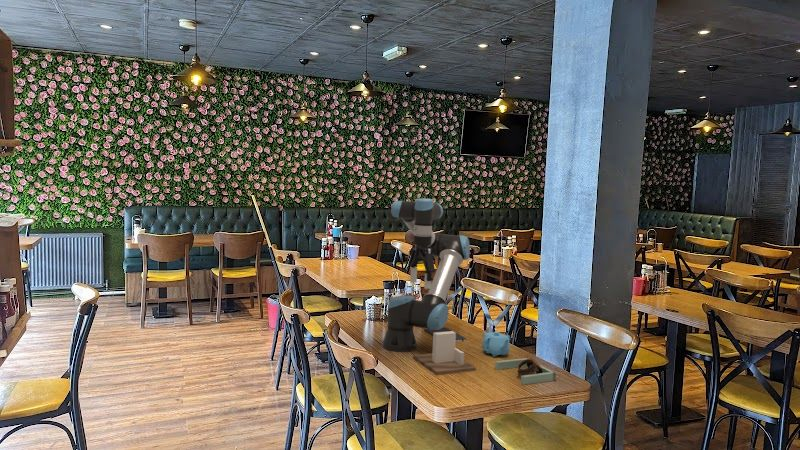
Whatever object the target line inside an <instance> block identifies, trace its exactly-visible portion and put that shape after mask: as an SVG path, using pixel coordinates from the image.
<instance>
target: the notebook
mask: <svg viewBox="0 0 800 450" xmlns="http://www.w3.org/2000/svg"><path fill="white" fill-rule="evenodd" d="M423 329H424V330H423V331H424V332H425V333H427V334H428V335H430V336H431V337H433V333H436V332H449V331H453V332H455V333H456V341H455V343H457V342H458V343H459V342H467V337H465V336H462V335H461V334H459V333H457V332H456V331H454V330H452V329H450V328H448V327H447V326H446V327H445V326H444V327H443V328H442V329H439V330H430V329H427V328H423Z"/></svg>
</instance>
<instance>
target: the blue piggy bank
mask: <svg viewBox="0 0 800 450" xmlns="http://www.w3.org/2000/svg"><path fill="white" fill-rule="evenodd" d="M482 336H483V338H482V346H481V349H482V350H483V351H485V354H486V355H488V354H489V355H490V354H491V356H492V357H493V358H497V357H498V356H503V357H505V356H506V355H507V354H509V353H510V345H511V344H510V341H511V335H508V334H503V333H501V332H499V331H494V332H484V333H483V334H482Z"/></svg>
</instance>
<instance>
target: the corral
mask: <svg viewBox="0 0 800 450" xmlns="http://www.w3.org/2000/svg"><path fill="white" fill-rule="evenodd" d="M526 359H528V358H527V357H525V358H524V357H523V358H516V359H507V360H496V361H495V364H494V365H495V367H494V369H495V370H497V371H498V370H499V371H500V370H505V369H517V368H518V367H519V366H518V365H519V364H520V363H521V362H522V361H524V360H526ZM539 365H540V366H541V369H542V372H543V373H540V374H536V371H535V373H532V375H524V376H521V375H520V384H521V385H524V386H525V385H532V384H538V383H546V382H554V381H556V379H557V372H555V371H553V370H552V369H549V368H547V367H545V366H543V365H542V364H539ZM524 367H525V368H526V369H527V368H528V367H527V365H526V364H524V365H523V366H521V368H524Z"/></svg>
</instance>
